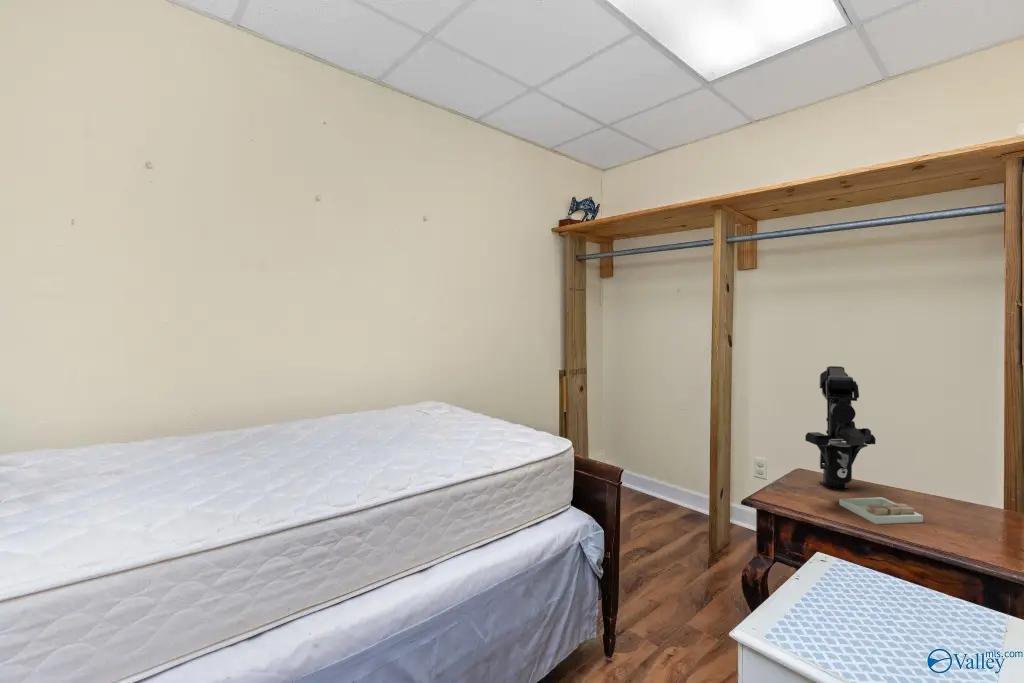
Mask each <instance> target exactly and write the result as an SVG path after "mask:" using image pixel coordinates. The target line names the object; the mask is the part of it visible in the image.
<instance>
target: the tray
mask: <svg viewBox="0 0 1024 683" xmlns="http://www.w3.org/2000/svg"><path fill="white" fill-rule="evenodd" d="M883 504H891V505H893V504H897V503H896V502H894V501H891V500H889V499H887V498H885V497H881V496H877V497H854V498H853V497H850V498H839V506H841V507H842V508H845V509H846V510H849V511H850V512H852V513H854V514H856V515H858V516H860V517H861V518H864V519H865V520H867V521H869V522H871V523H873V524H875V525H881V524H883V525H887V524H889V525H890V524H913V523H915V524H917V523H918V524H919V523H924V515H923V514H920V513H918V512H916V511H914V514H913V515H885V516H876V515H874V514H872V513H870V512H868V511H866V505H883Z"/></svg>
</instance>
